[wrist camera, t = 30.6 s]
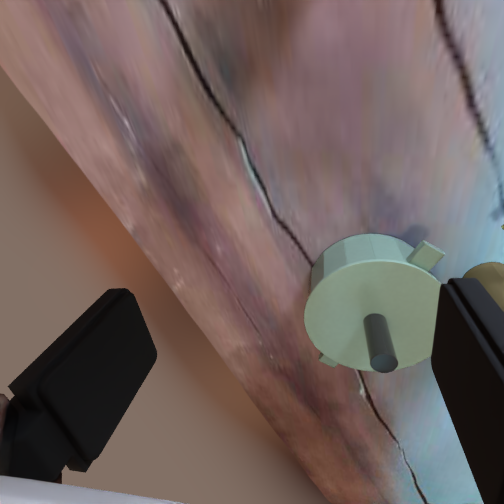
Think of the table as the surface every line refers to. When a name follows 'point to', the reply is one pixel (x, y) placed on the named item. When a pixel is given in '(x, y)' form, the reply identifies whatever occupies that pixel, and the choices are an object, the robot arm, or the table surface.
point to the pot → (371, 249)
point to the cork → (490, 280)
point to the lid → (374, 315)
